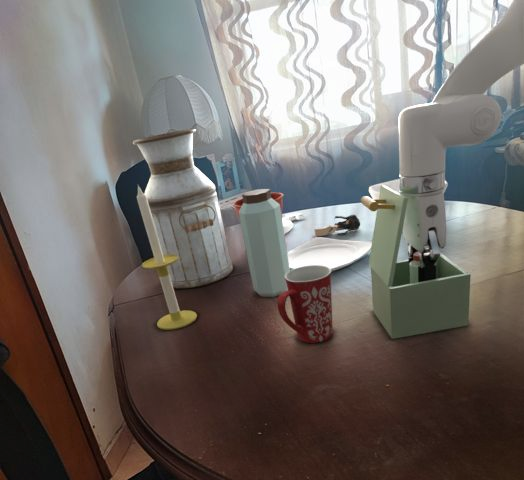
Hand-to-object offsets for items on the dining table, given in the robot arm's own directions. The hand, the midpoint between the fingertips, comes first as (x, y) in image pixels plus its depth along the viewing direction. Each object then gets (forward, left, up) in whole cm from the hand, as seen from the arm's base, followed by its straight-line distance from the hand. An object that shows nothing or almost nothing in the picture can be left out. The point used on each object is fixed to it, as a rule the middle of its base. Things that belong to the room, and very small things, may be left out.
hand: (421, 279), depth 90 cm
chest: (+1, 0, -8) cm, 8 cm away
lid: (+6, +1, +10) cm, 12 cm away
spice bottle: (0, 0, -4) cm, 4 cm away
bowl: (-8, -72, -8) cm, 73 cm away
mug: (+23, +4, -8) cm, 25 cm away
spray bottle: (+35, -86, -8) cm, 93 cm away
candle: (+56, -12, -8) cm, 58 cm away
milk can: (+58, -44, -8) cm, 73 cm away
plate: (+20, -43, -8) cm, 48 cm away
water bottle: (+33, -24, -8) cm, 41 cm away
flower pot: (+39, -63, -8) cm, 74 cm away
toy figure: (+15, -68, -8) cm, 70 cm away
